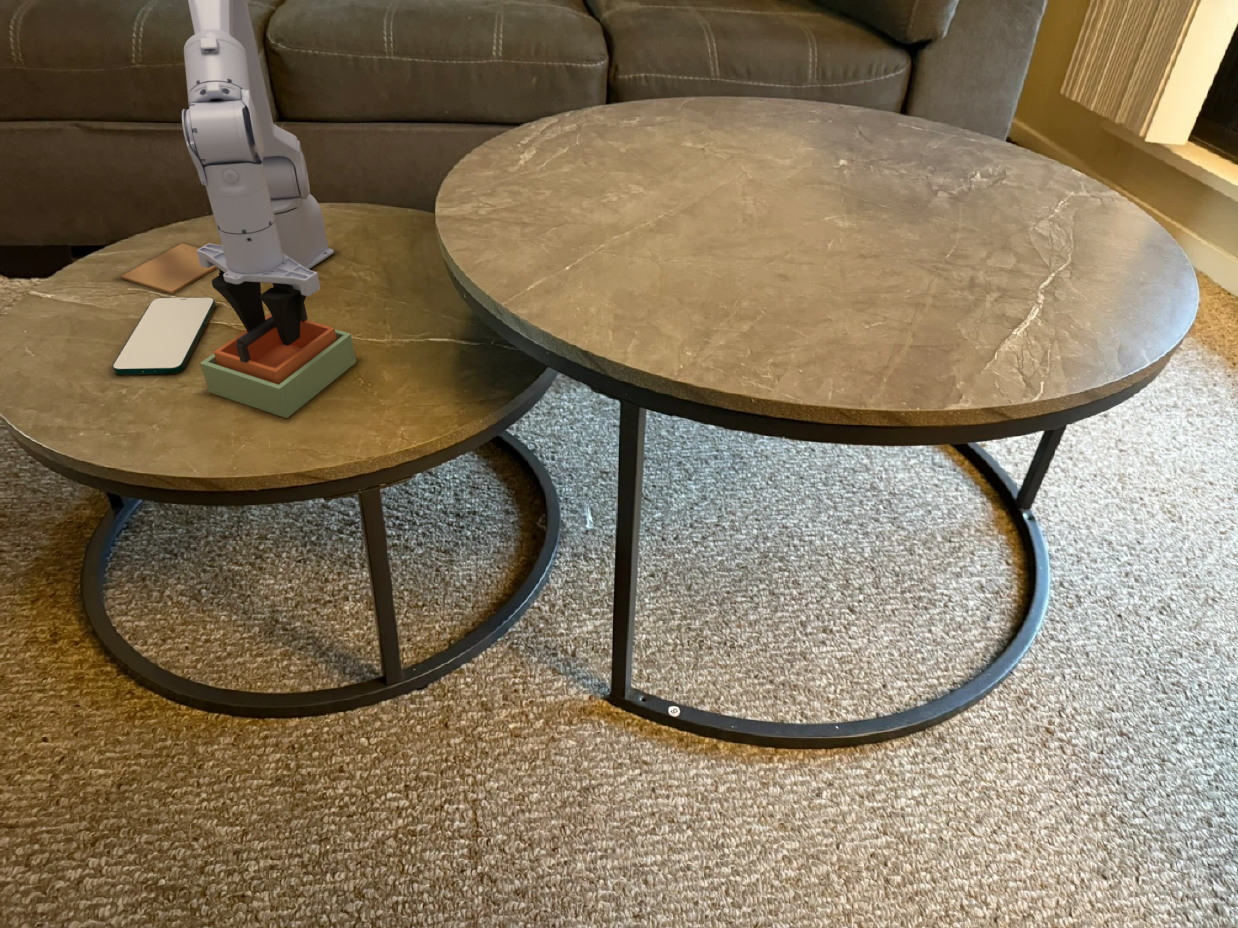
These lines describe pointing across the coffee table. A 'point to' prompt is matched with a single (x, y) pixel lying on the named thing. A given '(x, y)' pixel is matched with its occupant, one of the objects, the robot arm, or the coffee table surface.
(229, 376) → the green tray
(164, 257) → the cork pad
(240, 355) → the terracotta tote
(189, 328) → the smartphone
